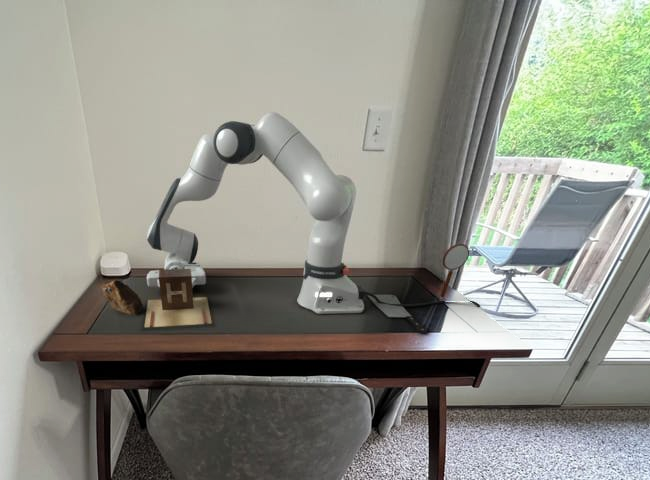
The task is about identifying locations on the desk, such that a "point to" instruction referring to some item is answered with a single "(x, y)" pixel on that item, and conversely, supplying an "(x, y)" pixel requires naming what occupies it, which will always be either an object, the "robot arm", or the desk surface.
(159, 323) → the game board
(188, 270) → the tall rectangular block
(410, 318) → the cleaver
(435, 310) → the desk surface
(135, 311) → the decorative rock
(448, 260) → the magnifying glass
